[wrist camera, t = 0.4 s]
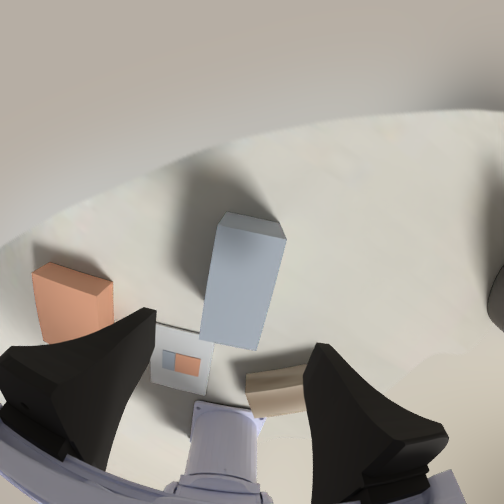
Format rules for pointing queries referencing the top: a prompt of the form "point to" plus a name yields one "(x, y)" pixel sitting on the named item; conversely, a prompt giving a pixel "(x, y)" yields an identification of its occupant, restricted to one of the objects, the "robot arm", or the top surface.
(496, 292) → the mug
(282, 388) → the brick
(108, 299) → the base brick
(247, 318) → the top brick
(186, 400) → the top surface
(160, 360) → the page
